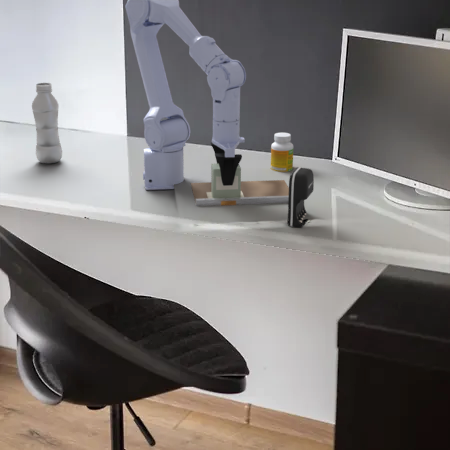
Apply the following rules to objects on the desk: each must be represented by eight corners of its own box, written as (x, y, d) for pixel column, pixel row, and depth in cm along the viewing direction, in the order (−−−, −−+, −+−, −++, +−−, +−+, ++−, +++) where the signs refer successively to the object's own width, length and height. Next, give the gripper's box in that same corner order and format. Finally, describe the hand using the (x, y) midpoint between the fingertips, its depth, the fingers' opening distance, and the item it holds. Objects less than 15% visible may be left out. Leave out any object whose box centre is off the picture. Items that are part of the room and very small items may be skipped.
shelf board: (196, 211, 178) (196, 200, 177) (190, 187, 192) (190, 178, 191) (296, 207, 180) (297, 197, 179) (284, 184, 194) (284, 175, 193)
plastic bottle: (68, 161, 210) (63, 83, 203) (49, 168, 205) (43, 88, 198) (49, 157, 214) (43, 80, 206) (30, 163, 208) (24, 84, 201)
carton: (240, 199, 181) (241, 168, 179) (213, 200, 181) (213, 169, 178) (237, 192, 185) (238, 162, 183) (211, 193, 185) (211, 163, 182)
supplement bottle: (290, 177, 200) (292, 138, 196) (268, 175, 201) (269, 136, 197) (293, 170, 205) (295, 132, 201) (272, 168, 206) (273, 130, 202)
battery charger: (304, 229, 168) (307, 176, 164) (286, 227, 170) (288, 174, 165) (313, 218, 175) (315, 166, 170) (295, 215, 176) (298, 164, 171)
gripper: (249, 127, 170) (248, 189, 175) (240, 110, 184) (239, 168, 189) (215, 128, 169) (215, 190, 175) (208, 110, 183) (208, 169, 188)
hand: (225, 179), depth 182 cm, fingers open, 7 cm apart
